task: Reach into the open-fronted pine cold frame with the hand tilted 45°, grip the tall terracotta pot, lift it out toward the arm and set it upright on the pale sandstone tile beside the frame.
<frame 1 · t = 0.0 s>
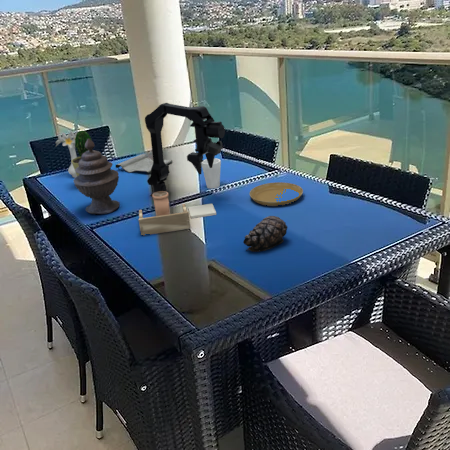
hand: (205, 170, 215), 15 cm above the table, fingers open, 9 cm apart
flower vase: (78, 175, 273), on the table
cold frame: (164, 223, 202), on the table
decorative urn: (102, 210, 222), on the table
foam cup: (213, 186, 239), on the table
terracotta pot: (164, 221, 204), on the table
potted cactus: (92, 186, 255), on the table
pine cone: (266, 245, 177), on the table
plant saucer: (276, 198, 219), on the table
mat: (145, 168, 278), on the table
stone tile: (202, 211, 210), on the table
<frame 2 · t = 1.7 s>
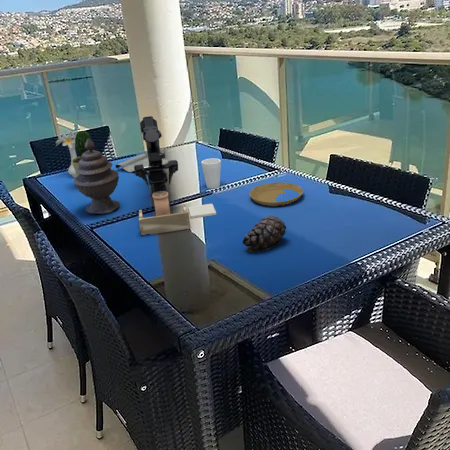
hand: (159, 185, 206), 13 cm above the table, fingers open, 9 cm apart
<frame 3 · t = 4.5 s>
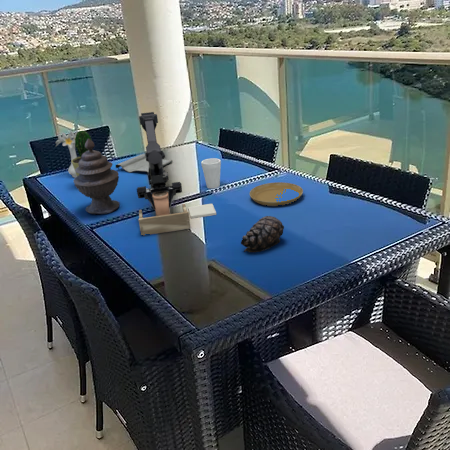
hand: (162, 208, 200), 7 cm above the table, fingers closed on terracotta pot, 6 cm apart
terracotta pot: (164, 221, 204), on the table, touching gripper
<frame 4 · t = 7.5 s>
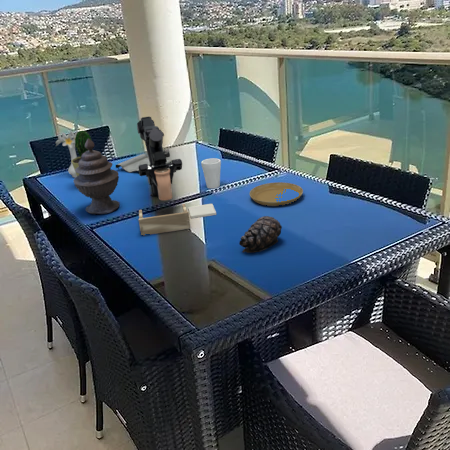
hand: (164, 184, 206), 13 cm above the table, fingers closed on terracotta pot, 6 cm apart
terracotta pot: (165, 197, 210), point 7 cm above the table, touching gripper
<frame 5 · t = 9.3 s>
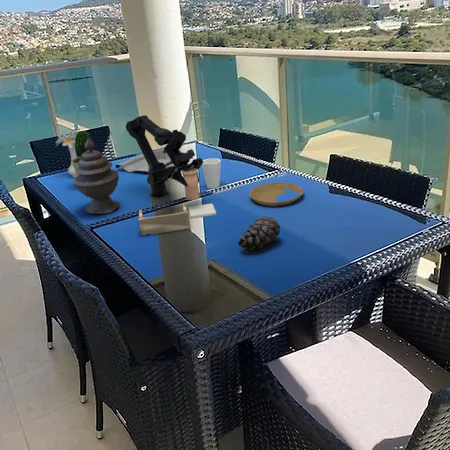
hand: (193, 184, 208), 12 cm above the table, fingers closed on terracotta pot, 6 cm apart
terracotta pot: (192, 197, 212), point 5 cm above the table, touching gripper
when the fingers open (9 cm above the table, at t = 10.9 s): terracotta pot drops 1 cm, resting on stone tile.
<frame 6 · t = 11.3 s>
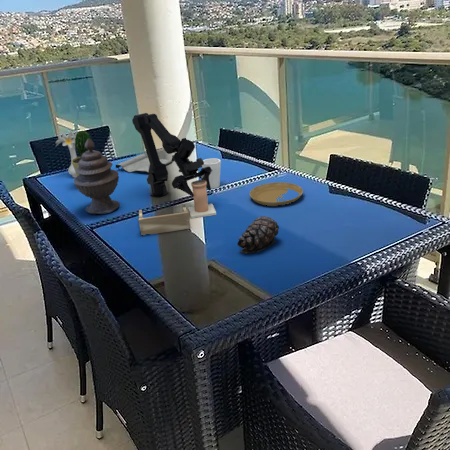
hand: (201, 193, 205), 9 cm above the table, fingers open, 9 cm apart
terracotta pot: (201, 209, 210), point 1 cm above the table, touching stone tile
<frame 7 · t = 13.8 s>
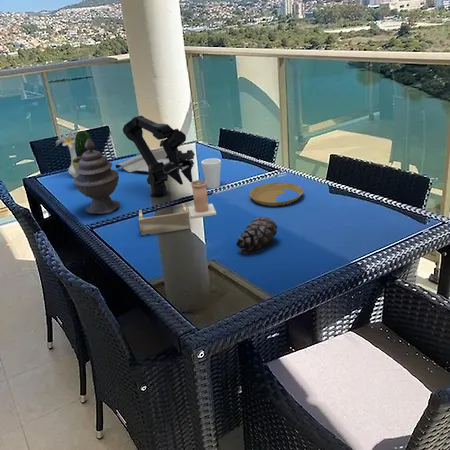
hand: (186, 183, 215), 10 cm above the table, fingers open, 9 cm apart
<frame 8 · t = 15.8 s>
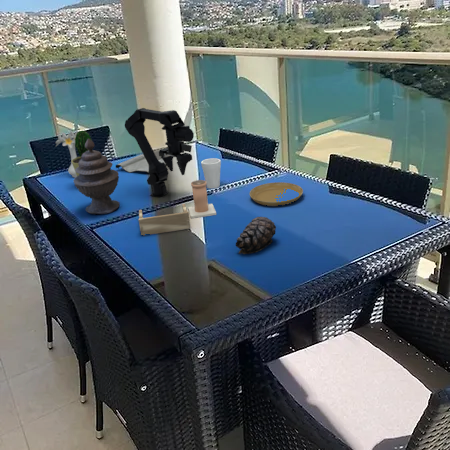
hand: (177, 173, 221), 13 cm above the table, fingers open, 9 cm apart
at the end: terracotta pot 0.1 cm off-centre on the stone tile, point 1.0 cm above the stone tile's base; terracotta pot tilted 0°; the gripper is holding nothing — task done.
